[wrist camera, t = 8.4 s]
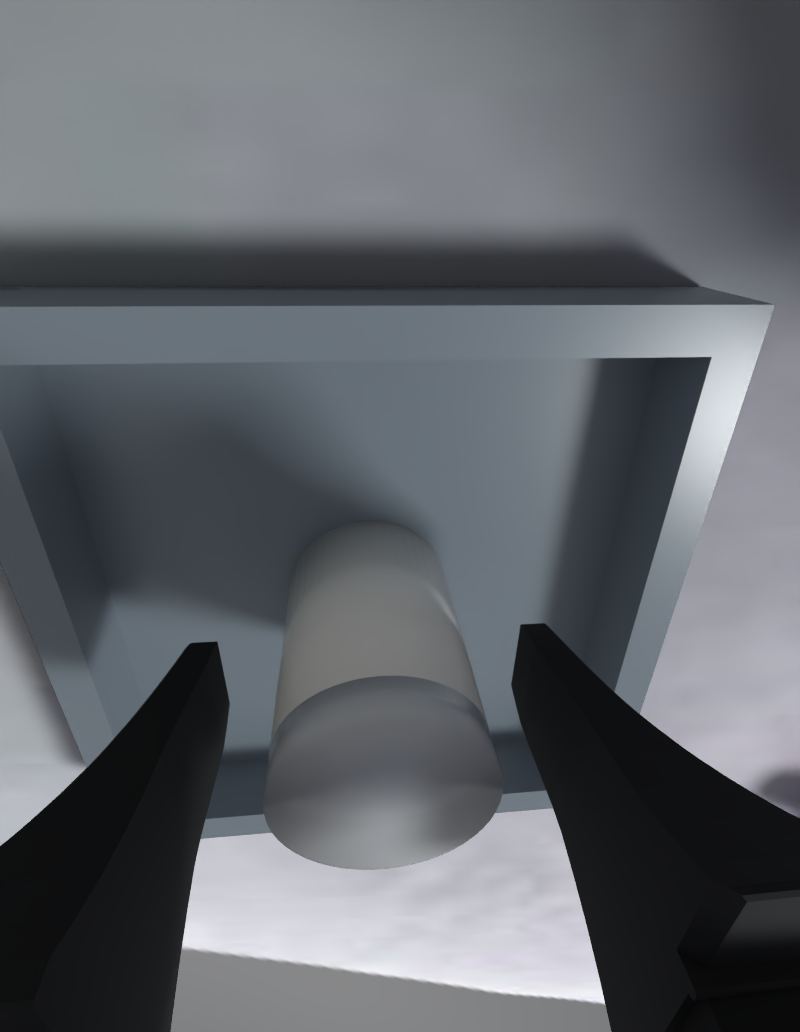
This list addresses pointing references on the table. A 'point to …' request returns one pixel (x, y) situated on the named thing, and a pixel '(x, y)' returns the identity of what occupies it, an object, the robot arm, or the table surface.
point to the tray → (354, 479)
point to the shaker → (376, 708)
